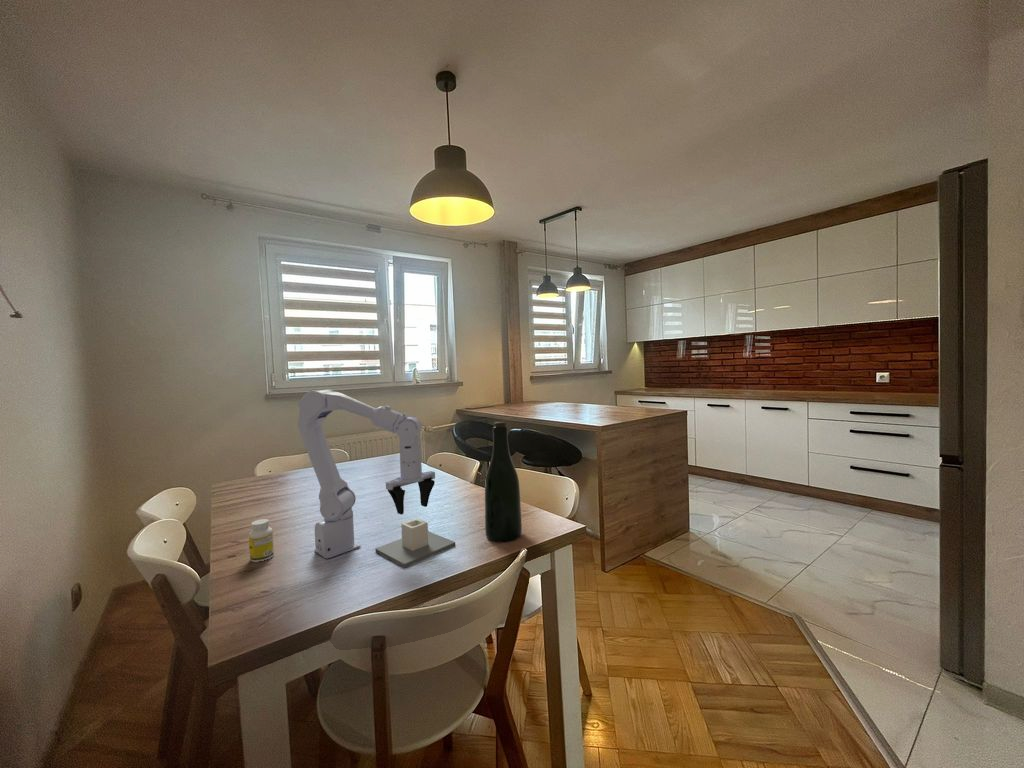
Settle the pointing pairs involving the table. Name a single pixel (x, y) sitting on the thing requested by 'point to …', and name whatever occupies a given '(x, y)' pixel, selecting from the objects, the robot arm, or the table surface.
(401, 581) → the table surface
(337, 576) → the table surface
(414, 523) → the sleeve
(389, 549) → the post board
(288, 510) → the table surface
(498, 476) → the green wine bottle
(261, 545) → the supplement bottle
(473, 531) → the table surface
